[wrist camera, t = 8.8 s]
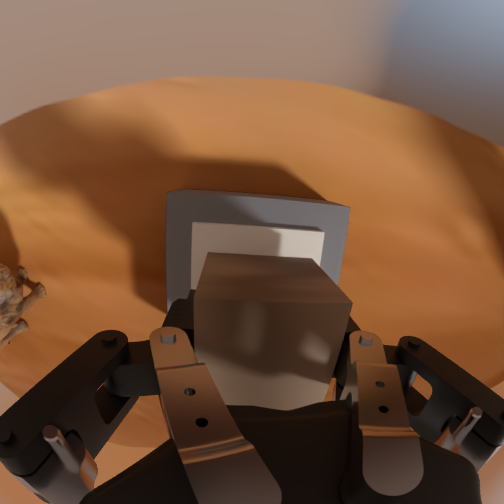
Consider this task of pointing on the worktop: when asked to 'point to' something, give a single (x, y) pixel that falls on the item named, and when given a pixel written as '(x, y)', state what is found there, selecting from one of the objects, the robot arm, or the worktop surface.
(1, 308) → the lion figurine
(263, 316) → the tan cube
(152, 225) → the worktop surface
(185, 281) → the base brick
